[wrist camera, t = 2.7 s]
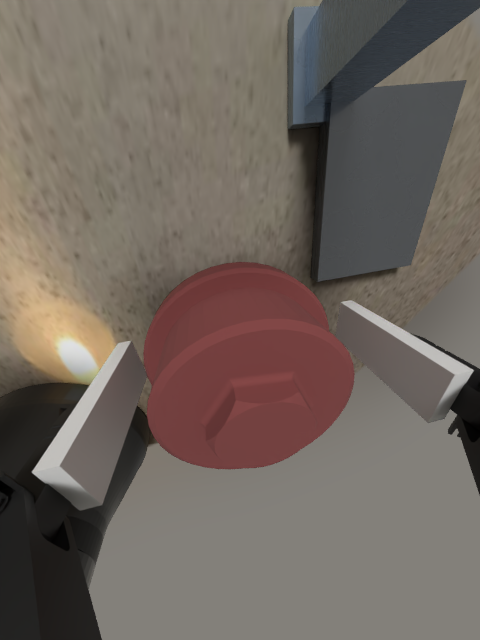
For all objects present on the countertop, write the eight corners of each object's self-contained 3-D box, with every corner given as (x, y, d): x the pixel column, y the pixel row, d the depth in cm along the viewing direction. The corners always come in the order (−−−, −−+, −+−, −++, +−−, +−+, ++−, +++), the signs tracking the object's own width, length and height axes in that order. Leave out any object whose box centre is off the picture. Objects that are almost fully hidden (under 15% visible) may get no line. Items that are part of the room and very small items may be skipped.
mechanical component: (285, 243, 16) (274, 344, 21) (157, 244, 15) (176, 353, 19) (454, 298, 5) (353, 481, 10) (36, 326, 4) (145, 528, 8)
